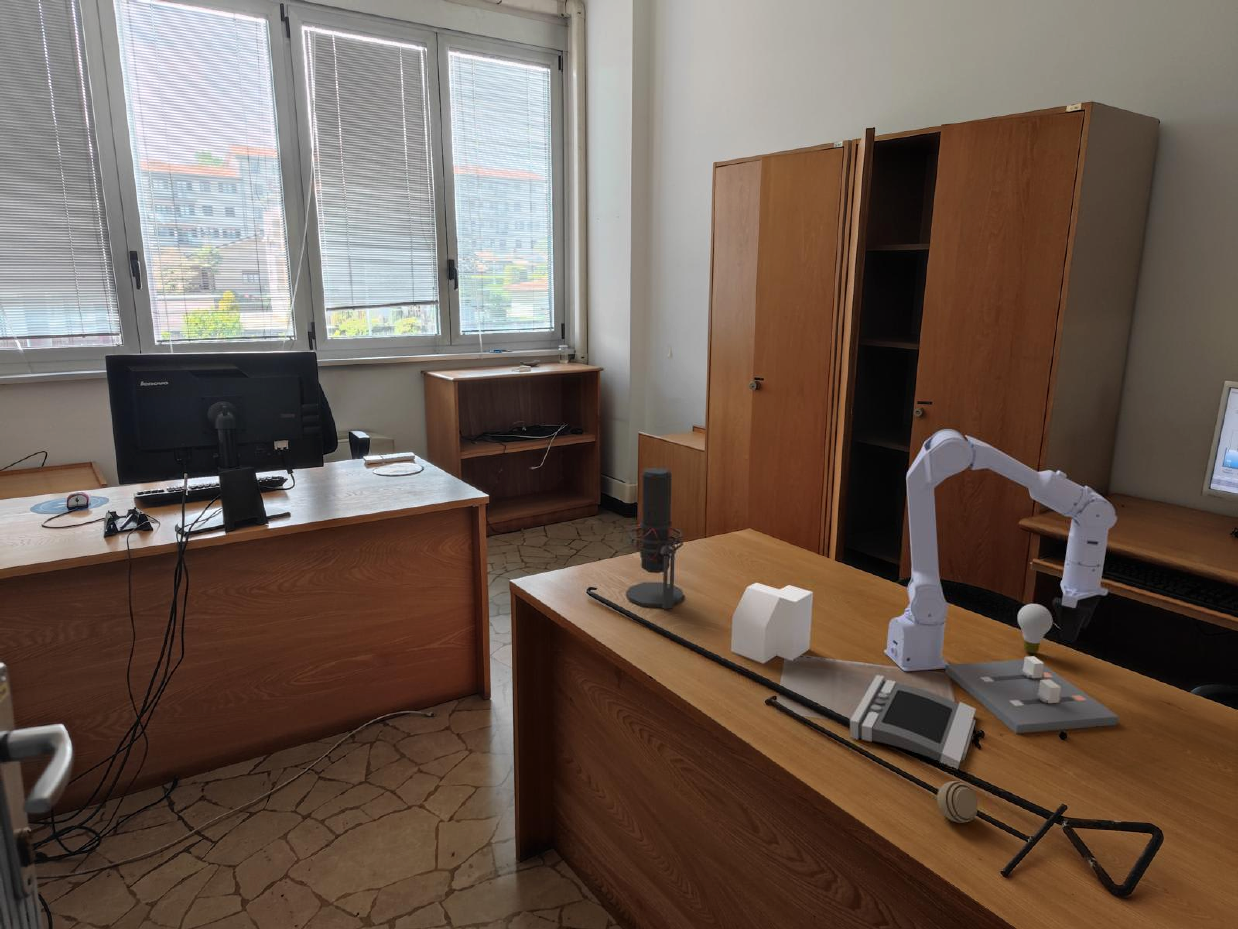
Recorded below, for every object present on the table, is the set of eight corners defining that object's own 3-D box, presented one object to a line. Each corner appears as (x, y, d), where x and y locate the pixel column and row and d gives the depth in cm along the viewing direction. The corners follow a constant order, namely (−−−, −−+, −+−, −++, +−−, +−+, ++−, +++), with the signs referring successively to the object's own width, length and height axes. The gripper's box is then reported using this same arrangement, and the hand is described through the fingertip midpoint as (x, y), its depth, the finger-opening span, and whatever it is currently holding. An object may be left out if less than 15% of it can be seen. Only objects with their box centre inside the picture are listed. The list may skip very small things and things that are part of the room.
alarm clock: (876, 675, 131) (978, 693, 123) (876, 699, 132) (978, 720, 124) (849, 720, 117) (963, 745, 109) (850, 747, 118) (962, 774, 109)
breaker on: (1029, 678, 132) (1031, 664, 132) (1019, 671, 135) (1021, 657, 134) (1044, 677, 133) (1047, 663, 132) (1035, 670, 135) (1036, 656, 135)
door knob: (935, 825, 98) (939, 792, 97) (934, 802, 103) (938, 770, 102) (977, 835, 96) (981, 801, 95) (974, 811, 101) (978, 778, 100)
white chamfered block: (809, 649, 147) (813, 592, 145) (778, 669, 139) (782, 609, 137) (762, 633, 154) (765, 578, 152) (731, 651, 146) (733, 593, 144)
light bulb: (1052, 661, 143) (1059, 612, 141) (1018, 658, 144) (1025, 609, 142) (1041, 647, 148) (1048, 600, 146) (1009, 644, 149) (1015, 597, 147)
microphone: (697, 594, 174) (701, 469, 168) (670, 614, 163) (673, 481, 156) (644, 581, 182) (646, 461, 175) (614, 600, 171) (615, 472, 164)
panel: (1016, 733, 119) (1017, 724, 119) (945, 672, 138) (945, 664, 138) (1117, 724, 122) (1118, 716, 121) (1033, 666, 141) (1034, 658, 140)
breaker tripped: (1045, 703, 124) (1047, 688, 124) (1034, 695, 127) (1037, 680, 126) (1061, 702, 125) (1064, 687, 124) (1051, 694, 127) (1053, 679, 127)
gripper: (1100, 577, 123) (1089, 653, 126) (1120, 556, 133) (1109, 627, 136) (1053, 567, 128) (1042, 640, 131) (1075, 547, 138) (1065, 616, 141)
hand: (1073, 633), depth 134 cm, fingers open, 7 cm apart
